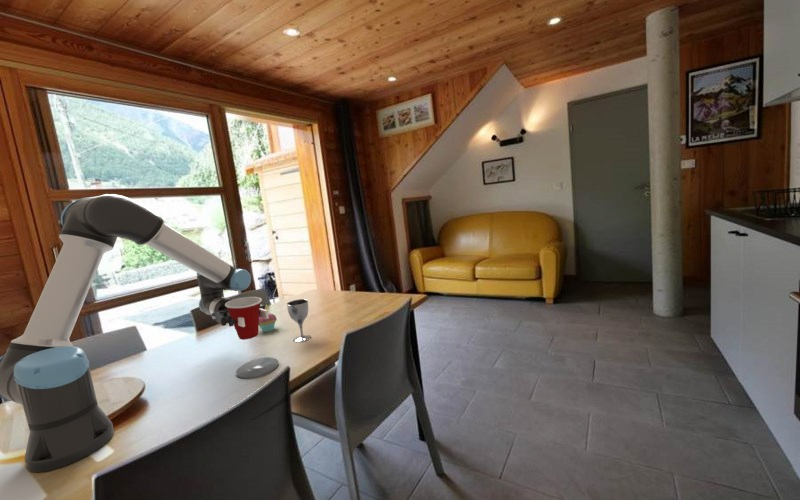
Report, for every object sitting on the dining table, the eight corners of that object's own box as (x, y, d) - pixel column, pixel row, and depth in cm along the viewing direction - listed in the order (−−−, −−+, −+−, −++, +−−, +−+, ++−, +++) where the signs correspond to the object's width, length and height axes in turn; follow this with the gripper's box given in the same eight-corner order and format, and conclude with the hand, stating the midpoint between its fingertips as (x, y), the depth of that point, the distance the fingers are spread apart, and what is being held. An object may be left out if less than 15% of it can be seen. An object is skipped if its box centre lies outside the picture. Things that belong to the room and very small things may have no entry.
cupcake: (282, 327, 153) (278, 301, 151) (265, 334, 146) (261, 307, 144) (269, 325, 157) (265, 299, 156) (253, 332, 150) (248, 305, 149)
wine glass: (316, 337, 137) (311, 300, 135) (299, 344, 132) (293, 306, 129) (305, 333, 143) (300, 298, 141) (288, 340, 137) (282, 303, 135)
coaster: (247, 383, 105) (247, 380, 105) (229, 372, 114) (229, 369, 114) (285, 365, 115) (285, 363, 115) (266, 356, 123) (266, 354, 123)
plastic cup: (254, 343, 105) (247, 305, 104) (223, 343, 108) (216, 306, 106) (273, 329, 116) (268, 294, 114) (245, 330, 118) (239, 296, 116)
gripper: (253, 310, 131) (285, 319, 116) (196, 328, 117) (224, 341, 101) (250, 291, 130) (282, 298, 115) (192, 306, 116) (220, 317, 100)
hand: (255, 318), depth 108 cm, fingers closed on plastic cup, 7 cm apart
